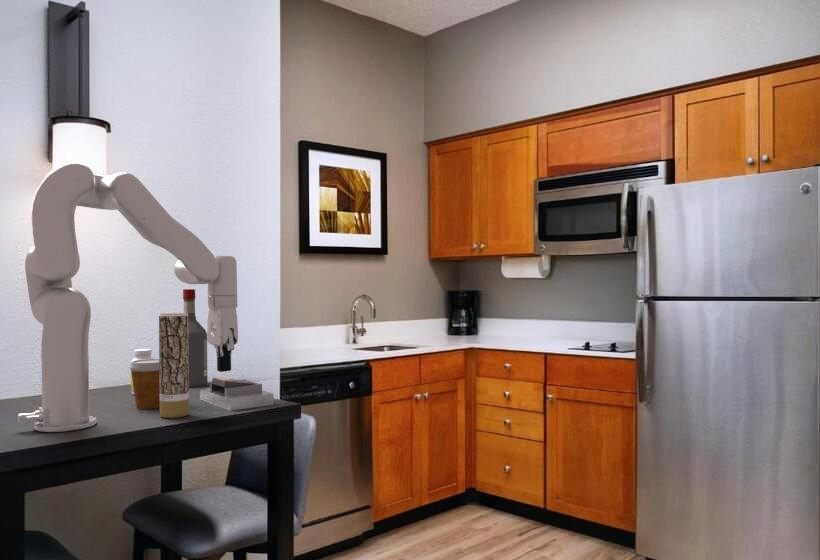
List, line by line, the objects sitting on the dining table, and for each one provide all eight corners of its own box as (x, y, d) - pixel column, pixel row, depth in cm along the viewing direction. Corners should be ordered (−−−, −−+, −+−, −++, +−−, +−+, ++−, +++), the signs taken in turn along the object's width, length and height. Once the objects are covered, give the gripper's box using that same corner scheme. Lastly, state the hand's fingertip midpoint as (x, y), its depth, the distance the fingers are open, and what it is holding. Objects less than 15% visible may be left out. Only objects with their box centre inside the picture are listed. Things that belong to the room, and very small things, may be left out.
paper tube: (179, 419, 159) (178, 314, 158) (154, 418, 160) (153, 314, 160) (194, 413, 165) (193, 312, 165) (169, 412, 167) (168, 312, 167)
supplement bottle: (147, 391, 199) (146, 348, 199) (160, 393, 195) (160, 349, 195) (126, 394, 193) (125, 350, 193) (139, 396, 189) (139, 351, 189)
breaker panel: (230, 410, 169) (230, 391, 168) (200, 399, 184) (199, 381, 184) (273, 404, 176) (273, 385, 176) (240, 394, 192) (240, 377, 192)
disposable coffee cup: (154, 402, 181) (154, 357, 181) (176, 405, 176) (175, 360, 176) (121, 407, 173) (121, 361, 173) (143, 412, 168) (142, 364, 168)
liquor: (181, 388, 202) (180, 289, 202) (170, 385, 209) (169, 289, 209) (210, 385, 208) (209, 289, 208) (198, 381, 215) (197, 288, 215)
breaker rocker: (224, 387, 174) (224, 380, 174) (211, 383, 180) (212, 377, 180) (258, 389, 180) (259, 383, 180) (245, 385, 186) (246, 379, 186)
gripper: (198, 302, 181) (199, 369, 181) (220, 303, 170) (222, 375, 170) (224, 300, 186) (226, 366, 186) (248, 302, 174) (249, 372, 175)
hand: (224, 370), depth 178 cm, fingers closed
